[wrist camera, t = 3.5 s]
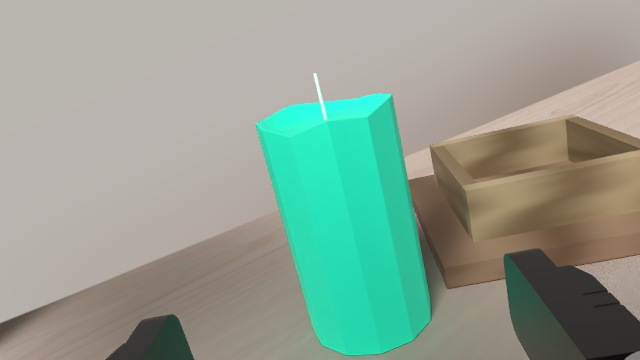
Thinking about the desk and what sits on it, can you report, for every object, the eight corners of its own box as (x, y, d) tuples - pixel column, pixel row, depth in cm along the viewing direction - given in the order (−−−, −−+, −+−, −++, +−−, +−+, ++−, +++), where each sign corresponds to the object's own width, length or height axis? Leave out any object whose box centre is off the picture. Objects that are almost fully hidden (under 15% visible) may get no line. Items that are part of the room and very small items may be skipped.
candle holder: (447, 288, 23) (434, 213, 22) (408, 194, 36) (398, 144, 35) (744, 235, 22) (748, 151, 20) (589, 157, 35) (586, 103, 34)
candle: (291, 319, 24) (224, 93, 20) (379, 269, 26) (333, 62, 23) (359, 377, 19) (286, 89, 15) (459, 308, 21) (416, 50, 18)
